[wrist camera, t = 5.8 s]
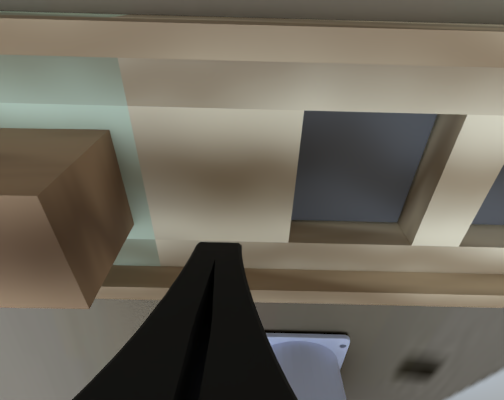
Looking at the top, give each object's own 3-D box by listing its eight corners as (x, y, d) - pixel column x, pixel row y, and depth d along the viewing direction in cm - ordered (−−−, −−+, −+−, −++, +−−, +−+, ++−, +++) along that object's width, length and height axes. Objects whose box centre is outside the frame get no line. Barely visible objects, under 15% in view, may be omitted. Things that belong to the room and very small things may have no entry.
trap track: (546, 262, 19) (598, 310, 16) (45, 251, 19) (7, 296, 16) (732, 30, 12) (884, 41, 9) (-75, 8, 12) (-181, 13, 9)
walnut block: (134, 224, 15) (89, 309, 11) (35, 222, 15) (-46, 306, 11) (109, 129, 13) (36, 196, 8) (-12, 127, 13) (-143, 192, 8)
